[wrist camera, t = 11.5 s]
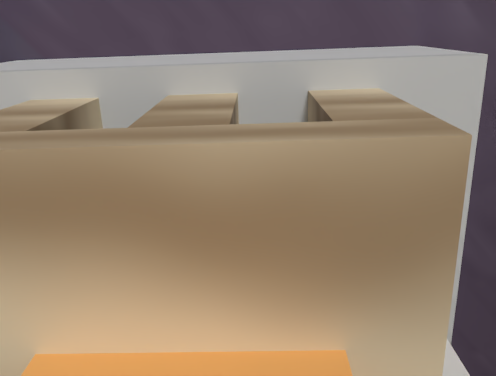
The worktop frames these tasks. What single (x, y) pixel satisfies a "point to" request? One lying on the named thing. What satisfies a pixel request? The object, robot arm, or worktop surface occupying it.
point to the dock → (265, 87)
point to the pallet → (231, 230)
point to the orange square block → (193, 364)
